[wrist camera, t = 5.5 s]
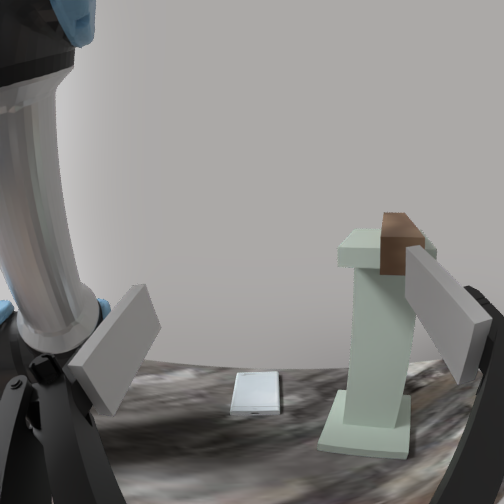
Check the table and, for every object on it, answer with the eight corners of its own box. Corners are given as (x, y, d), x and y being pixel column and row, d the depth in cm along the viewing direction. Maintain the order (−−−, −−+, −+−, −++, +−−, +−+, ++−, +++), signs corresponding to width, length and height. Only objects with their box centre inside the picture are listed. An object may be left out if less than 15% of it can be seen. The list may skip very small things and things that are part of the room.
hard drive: (236, 372, 58) (229, 410, 46) (278, 371, 58) (280, 409, 46) (237, 379, 59) (230, 417, 46) (278, 378, 58) (280, 416, 46)
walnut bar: (379, 274, 19) (380, 236, 19) (383, 230, 41) (383, 212, 40) (423, 276, 18) (425, 237, 17) (404, 230, 39) (404, 212, 39)
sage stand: (315, 454, 36) (322, 246, 31) (338, 393, 50) (345, 228, 45) (405, 464, 30) (451, 249, 25) (409, 398, 44) (430, 229, 39)
